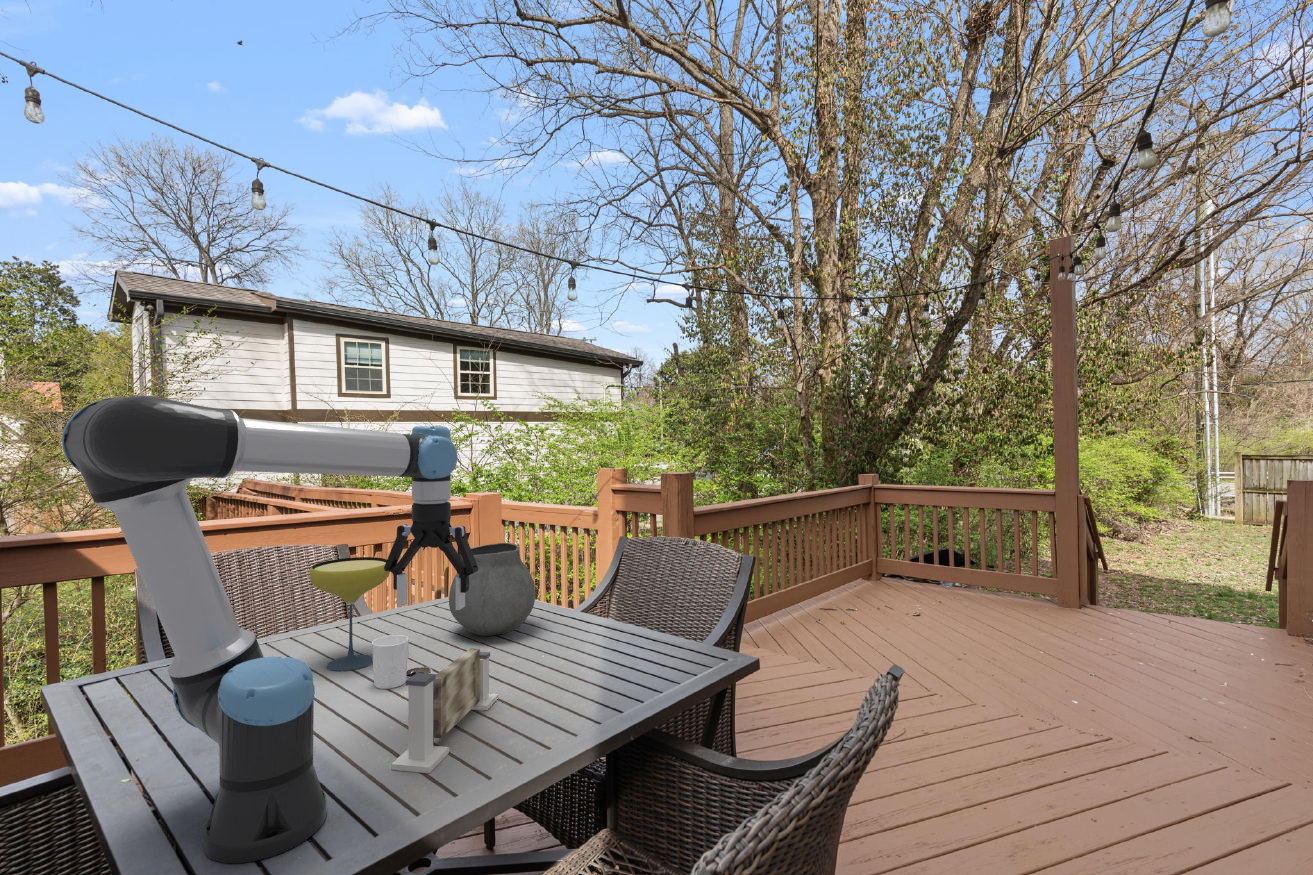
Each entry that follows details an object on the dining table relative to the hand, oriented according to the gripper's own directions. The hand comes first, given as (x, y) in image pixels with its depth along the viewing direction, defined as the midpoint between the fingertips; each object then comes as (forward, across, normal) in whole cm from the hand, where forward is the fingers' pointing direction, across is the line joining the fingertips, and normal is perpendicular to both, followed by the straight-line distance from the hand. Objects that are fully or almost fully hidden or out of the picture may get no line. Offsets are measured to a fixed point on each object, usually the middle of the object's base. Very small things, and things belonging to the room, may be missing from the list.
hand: (431, 606), depth 128 cm
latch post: (+22, -8, -7) cm, 24 cm away
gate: (+21, -7, +5) cm, 23 cm away
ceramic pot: (+22, +9, -53) cm, 58 cm away
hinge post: (+22, -7, +17) cm, 29 cm away
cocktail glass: (+22, +34, -24) cm, 48 cm away
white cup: (+22, +18, -14) cm, 32 cm away
